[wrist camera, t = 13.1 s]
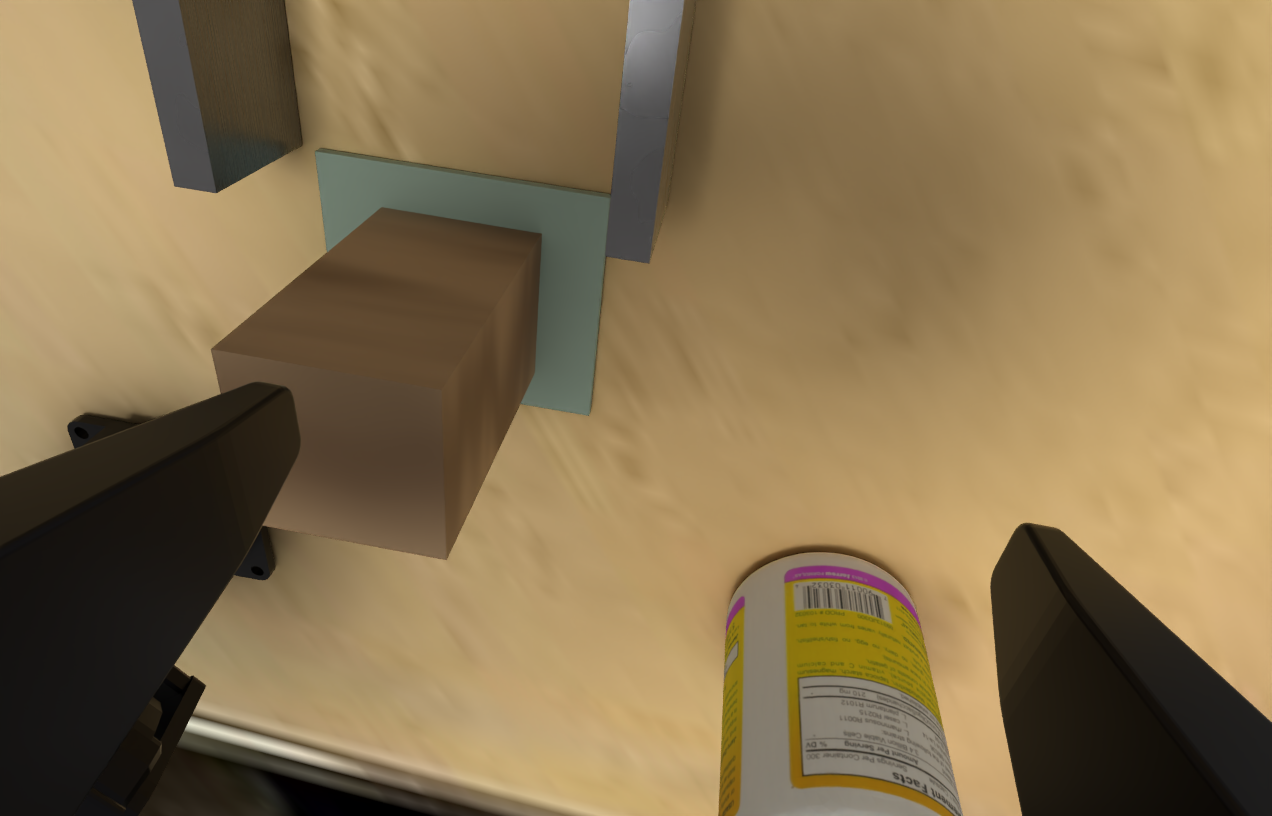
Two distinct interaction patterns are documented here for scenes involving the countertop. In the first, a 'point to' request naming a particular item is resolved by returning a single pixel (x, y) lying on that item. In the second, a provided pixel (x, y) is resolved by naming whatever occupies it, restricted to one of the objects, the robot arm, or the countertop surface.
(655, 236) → the bent rails
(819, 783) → the supplement bottle
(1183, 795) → the robot arm
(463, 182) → the mat
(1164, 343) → the countertop surface
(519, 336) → the walnut block
